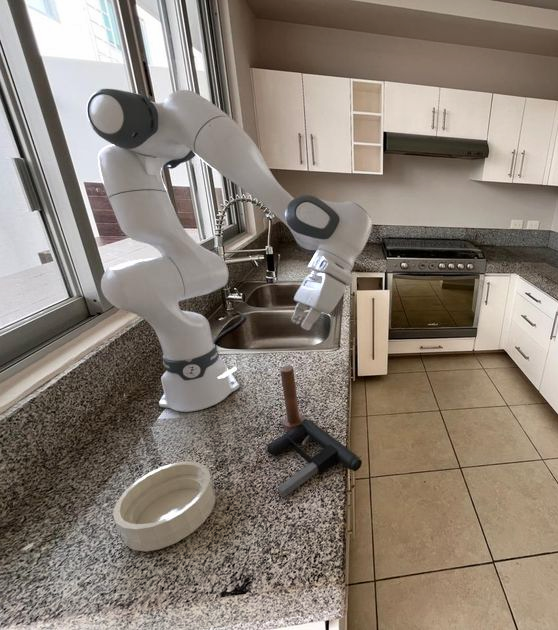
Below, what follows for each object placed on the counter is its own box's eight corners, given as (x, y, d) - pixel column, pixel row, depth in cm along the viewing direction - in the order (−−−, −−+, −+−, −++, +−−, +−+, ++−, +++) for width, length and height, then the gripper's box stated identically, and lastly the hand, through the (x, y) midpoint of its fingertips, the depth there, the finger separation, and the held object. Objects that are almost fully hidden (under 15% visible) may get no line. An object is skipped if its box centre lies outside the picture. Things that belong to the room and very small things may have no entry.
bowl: (131, 502, 64) (122, 478, 62) (215, 474, 70) (209, 451, 68) (116, 570, 53) (104, 544, 51) (217, 530, 59) (210, 505, 57)
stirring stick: (281, 421, 86) (273, 366, 80) (302, 415, 88) (295, 361, 82) (285, 434, 82) (277, 376, 76) (307, 427, 84) (300, 371, 78)
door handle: (298, 507, 61) (366, 453, 72) (246, 452, 73) (311, 412, 84) (301, 519, 62) (367, 464, 74) (249, 463, 74) (313, 423, 85)
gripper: (304, 263, 84) (277, 313, 82) (330, 262, 67) (295, 326, 65) (327, 276, 87) (300, 325, 85) (357, 278, 70) (325, 339, 68)
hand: (298, 325), depth 75 cm, fingers open, 8 cm apart
